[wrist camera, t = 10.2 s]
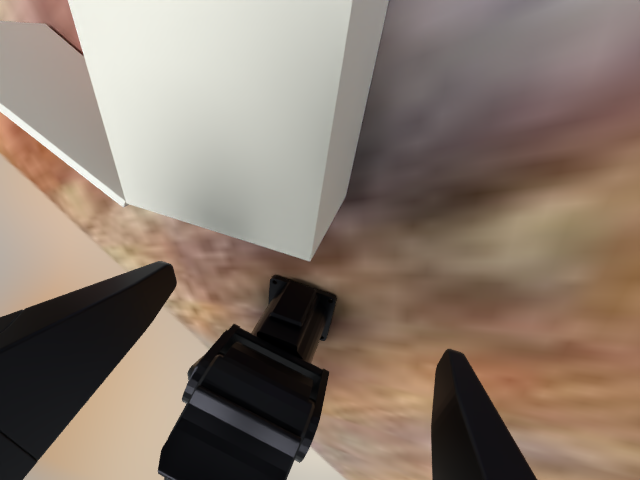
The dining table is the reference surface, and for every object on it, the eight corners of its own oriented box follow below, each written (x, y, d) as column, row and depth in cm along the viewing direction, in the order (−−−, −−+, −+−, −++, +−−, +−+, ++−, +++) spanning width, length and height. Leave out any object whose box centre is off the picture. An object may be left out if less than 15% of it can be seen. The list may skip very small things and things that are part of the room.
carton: (346, 196, 21) (310, 261, 14) (211, 159, 23) (126, 203, 16) (408, -88, 13) (389, -228, 6) (188, -111, 14) (-2, -238, 8)
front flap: (205, 160, 22) (54, 236, 13) (200, 169, 23) (53, 248, 14) (45, 23, 20) (-266, 3, 11) (44, 37, 21) (-252, 28, 12)
